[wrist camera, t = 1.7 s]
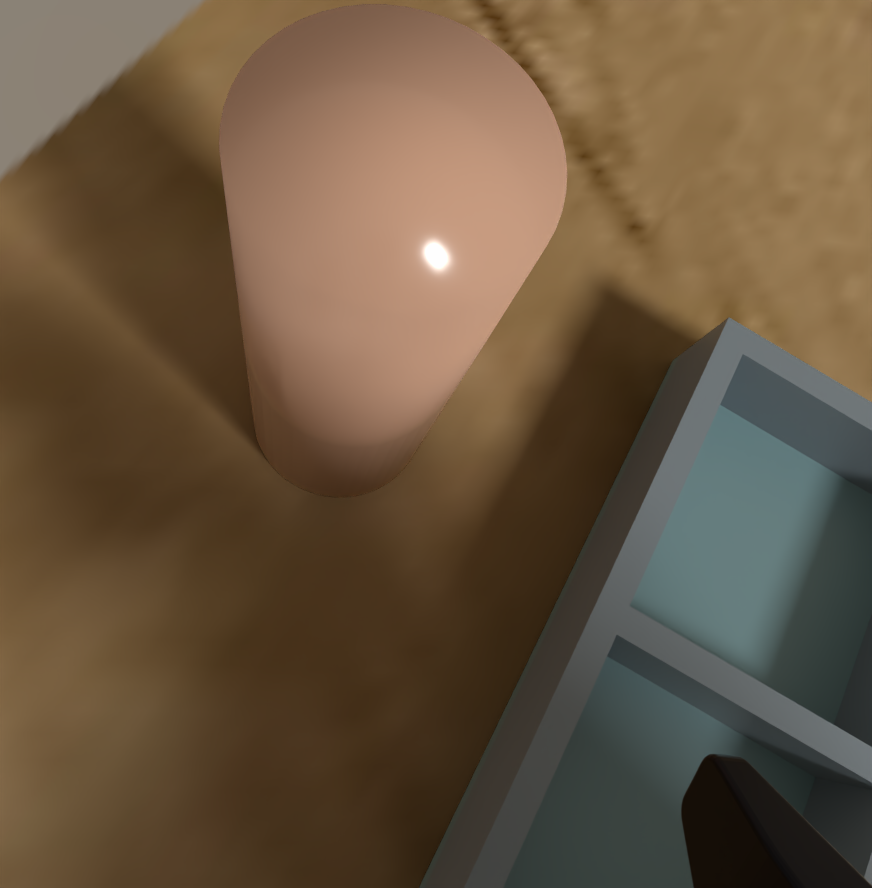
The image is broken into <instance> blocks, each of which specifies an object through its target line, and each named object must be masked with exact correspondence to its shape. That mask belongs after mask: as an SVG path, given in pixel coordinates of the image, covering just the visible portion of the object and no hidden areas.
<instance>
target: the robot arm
mask: <svg viewBox="0 0 872 888" xmlns="http://www.w3.org/2000/svg"><path fill="white" fill-rule="evenodd" d="M681 818H682V825H683V831H684V836H685V842H686V848H687V853H688V859H689V865H690V870H691V876H692V882H693V887H694V888H872V885H871V884H870V883H869V882H868V881H867V880H866V879H865V878H864V877H863V876H862V875H861V874H860V873H859V872H858V871H857V870H856V869H855V868H854V867H853V866H852V865H851V864H850V863H849V862H848V861H847V860H846V859H845V858H844V857H843V856H842V855H841V854H840V853H839V852H838V851H837V850H836V849H835V848H834V847H833V846H832V845H831V844H830V843H829V842H828V841H827V840H826V839H825V838H824V837H823V836H822V835H821V834H820V833H819V832H818V831H817V830H816V829H815V828H814V827H813V826H812V825H811V824H810V823H809V822H808V821H807V820H806V819H805V818H804V817H803V816H802V815H801V814H800V813H799V812H798V811H797V810H796V809H795V808H794V807H793V806H792V805H791V804H790V803H789V802H788V801H787V800H786V799H785V798H784V797H783V796H782V795H781V794H780V793H779V792H778V791H777V790H776V789H775V788H774V787H773V786H772V785H771V784H770V783H769V782H768V781H767V780H766V779H765V778H764V777H763V776H762V775H761V774H760V773H759V772H758V771H757V770H756V769H755V768H754V767H753V766H752V765H751V764H750V763H749V762H748V761H746V760H745V759H743V758H742V757H739V756H734V755H723V754H709V755H708V756H706V757H705V758H704V759H703V760H702V762H701V764H700V766H699V768H698V770H697V772H696V773H695V775H694V777H693V779H692V781H691V783H690V785H689V787H688V789H687V791H686V793H685V794H684V797H683V800H682V805H681Z"/></svg>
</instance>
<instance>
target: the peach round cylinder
mask: <svg viewBox="0 0 872 888" xmlns="http://www.w3.org/2000/svg"><path fill="white" fill-rule="evenodd" d="M219 151H220V159H221V168H222V176H223V184H224V192H225V200H226V208H227V216H228V224H229V232H230V240H231V248H232V256H233V264H234V272H235V280H236V288H237V296H238V304H239V312H240V320H241V328H242V336H243V344H244V352H245V360H246V368H247V376H248V384H249V392H250V400H251V408H252V415H253V423H254V430H255V434H256V438H257V441H258V443H259V445H260V448H261V450H262V452H263V453H264V455H265V457H266V459H267V460H268V461H269V463H270V464H271V465H272V466H273V468H274V469H275V470H276V471H277V472H278V473H279V474H280V475H281V476H283V477H284V478H285V479H287V480H288V481H289V482H291V483H292V484H294V485H296V486H298V487H299V488H301V489H304V490H306V491H309V492H311V493H314V494H318V495H322V496H329V497H351V496H358V495H362V494H366V493H369V492H371V491H374V490H376V489H379V488H380V487H382V486H384V485H385V484H387V483H389V482H390V481H391V480H393V479H394V478H395V477H397V476H398V475H399V474H400V473H401V472H402V471H403V470H404V468H405V467H406V466H407V464H408V463H409V462H410V460H411V459H412V457H413V456H414V454H415V453H416V451H417V449H418V448H419V446H420V445H421V443H422V442H423V440H424V438H425V437H426V435H427V434H428V432H429V431H430V429H431V427H432V426H433V424H434V423H435V421H436V419H437V418H438V416H439V415H440V413H441V412H442V410H443V408H444V407H445V405H446V404H447V402H448V401H449V399H450V397H451V396H452V394H453V393H454V391H455V390H456V388H457V386H458V385H459V383H460V382H461V380H462V379H463V377H464V375H465V374H466V372H467V371H468V369H469V367H470V366H471V364H472V363H473V361H474V360H475V358H476V356H477V355H478V353H479V352H480V350H481V349H482V347H483V345H484V344H485V342H486V341H487V339H488V338H489V336H490V334H491V333H492V331H493V330H494V328H495V327H496V325H497V323H498V322H499V320H500V319H501V317H502V315H503V314H504V312H505V311H506V309H507V308H508V306H509V304H510V303H511V301H512V300H513V298H514V297H515V295H516V293H517V292H518V290H519V289H520V287H521V286H522V284H523V282H524V281H525V279H526V278H527V276H528V274H529V273H530V271H531V270H532V268H533V267H534V265H535V263H536V262H537V260H538V259H539V257H540V256H541V254H542V252H543V251H544V249H545V248H546V246H547V244H548V242H549V241H550V239H551V237H552V235H553V233H554V232H555V230H556V227H557V224H558V222H559V219H560V216H561V213H562V210H563V205H564V200H565V196H566V185H567V166H566V154H565V150H564V145H563V141H562V137H561V133H560V131H559V128H558V125H557V122H556V120H555V117H554V115H553V113H552V111H551V109H550V107H549V105H548V103H547V101H546V99H545V98H544V96H543V95H542V93H541V92H540V90H539V89H538V87H537V86H536V85H535V83H534V82H533V80H532V79H531V78H530V77H529V76H528V75H527V73H526V72H525V71H524V70H523V69H522V68H521V67H520V65H519V64H517V63H516V62H515V61H514V60H513V59H512V58H511V57H510V56H509V55H508V54H507V53H506V52H504V51H503V50H502V49H501V48H499V47H498V46H496V45H495V44H494V43H492V42H491V41H490V40H488V39H487V38H485V37H484V36H482V35H480V34H479V33H477V32H475V31H473V30H472V29H470V28H468V27H466V26H464V25H462V24H460V23H457V22H455V21H453V20H451V19H449V18H446V17H443V16H440V15H437V14H434V13H431V12H428V11H423V10H419V9H414V8H409V7H403V6H394V5H385V4H363V5H354V6H345V7H339V8H335V9H331V10H327V11H322V12H319V13H317V14H314V15H311V16H308V17H306V18H303V19H301V20H299V21H297V22H295V23H293V24H291V25H289V26H288V27H286V28H284V29H282V30H281V31H280V32H278V33H277V34H275V35H274V36H273V37H271V38H270V39H268V40H267V41H266V42H265V43H264V44H263V45H262V46H261V47H260V48H259V49H258V50H257V51H255V52H254V53H253V54H252V56H251V57H250V58H249V60H248V61H247V62H246V63H245V65H244V66H243V67H242V69H241V70H240V72H239V73H238V75H237V77H236V79H235V81H234V82H233V84H232V86H231V88H230V91H229V93H228V96H227V99H226V102H225V104H224V108H223V113H222V118H221V123H220V136H219Z"/></svg>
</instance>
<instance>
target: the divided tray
mask: <svg viewBox="0 0 872 888" xmlns="http://www.w3.org/2000/svg"><path fill="white" fill-rule="evenodd" d="M709 754H723V755H734V756H739V757H742V758H743V759H745V760H746V761H748V762H749V763H750V764H751V765H752V766H753V767H754V768H755V769H756V770H757V771H758V772H759V773H760V774H761V775H762V776H763V777H764V778H765V779H766V780H767V781H768V782H769V783H770V784H771V785H772V786H773V787H774V788H775V789H776V790H777V791H778V792H779V793H780V794H781V795H782V796H783V797H784V798H785V799H786V800H787V801H788V802H789V803H790V804H791V805H792V806H793V807H794V808H795V809H796V810H797V811H798V812H799V813H800V814H801V815H802V816H803V817H804V818H805V819H806V820H807V821H808V822H809V823H810V824H811V825H812V826H813V827H814V828H815V829H816V830H817V831H818V832H819V833H820V834H821V835H822V836H823V837H824V838H825V839H826V840H827V841H828V842H829V843H830V844H831V845H832V846H833V847H834V848H835V849H836V850H837V851H838V852H839V853H840V854H841V855H842V856H843V857H844V858H845V859H846V860H847V861H848V862H849V863H850V864H851V865H852V866H853V867H854V868H855V869H856V870H857V871H858V872H859V873H860V874H861V875H862V876H863V877H864V878H865V879H866V880H867V881H868V882H869V883H870V884H871V885H872V402H870V401H868V400H867V399H865V398H863V397H862V396H860V395H858V394H857V393H855V392H853V391H851V390H850V389H848V388H846V387H845V386H843V385H841V384H840V383H838V382H836V381H835V380H833V379H831V378H830V377H828V376H826V375H825V374H823V373H821V372H820V371H818V370H816V369H815V368H813V367H811V366H810V365H808V364H806V363H805V362H803V361H801V360H800V359H798V358H796V357H795V356H793V355H791V354H789V353H788V352H786V351H784V350H783V349H781V348H779V347H778V346H776V345H774V344H773V343H771V342H769V341H768V340H766V339H764V338H763V337H761V336H759V335H758V334H756V333H754V332H753V331H751V330H749V329H748V328H746V327H744V326H743V325H741V324H739V323H738V322H736V321H734V320H732V319H731V318H727V319H726V320H725V321H723V322H722V323H721V324H720V325H718V326H717V327H716V328H714V329H713V330H712V331H711V332H709V333H708V334H707V335H705V336H704V337H703V338H701V339H700V340H699V341H698V342H696V343H695V344H694V345H692V346H691V347H690V348H688V349H687V350H686V351H685V352H683V353H682V354H681V355H679V356H678V357H677V358H676V359H674V360H673V361H672V363H671V365H670V367H669V369H668V371H667V374H666V376H665V378H664V380H663V382H662V384H661V386H660V388H659V390H658V392H657V394H656V396H655V398H654V401H653V403H652V405H651V407H650V409H649V411H648V413H647V415H646V417H645V419H644V421H643V423H642V425H641V428H640V430H639V432H638V434H637V436H636V438H635V440H634V442H633V444H632V446H631V448H630V450H629V452H628V455H627V457H626V459H625V461H624V463H623V465H622V467H621V469H620V471H619V473H618V475H617V477H616V479H615V482H614V484H613V486H612V488H611V490H610V492H609V494H608V496H607V498H606V500H605V502H604V504H603V506H602V509H601V511H600V513H599V515H598V517H597V519H596V521H595V523H594V525H593V527H592V529H591V531H590V533H589V536H588V538H587V540H586V542H585V544H584V546H583V548H582V550H581V552H580V554H579V556H578V558H577V560H576V563H575V565H574V567H573V569H572V571H571V573H570V575H569V577H568V579H567V581H566V583H565V585H564V587H563V590H562V592H561V594H560V596H559V598H558V600H557V602H556V604H555V606H554V608H553V610H552V612H551V614H550V617H549V619H548V621H547V623H546V625H545V627H544V629H543V631H542V633H541V635H540V637H539V639H538V641H537V644H536V646H535V648H534V650H533V652H532V654H531V656H530V658H529V660H528V662H527V664H526V666H525V668H524V671H523V673H522V675H521V677H520V679H519V681H518V683H517V685H516V687H515V689H514V691H513V693H512V695H511V698H510V700H509V702H508V704H507V706H506V708H505V710H504V712H503V714H502V716H501V718H500V720H499V722H498V725H497V727H496V729H495V731H494V733H493V735H492V737H491V739H490V741H489V743H488V745H487V747H486V749H485V752H484V754H483V756H482V758H481V760H480V762H479V764H478V766H477V768H476V770H475V772H474V774H473V776H472V779H471V781H470V783H469V785H468V787H467V789H466V791H465V793H464V795H463V797H462V799H461V801H460V803H459V805H458V808H457V810H456V812H455V814H454V816H453V818H452V820H451V822H450V824H449V826H448V828H447V830H446V832H445V835H444V837H443V839H442V841H441V843H440V845H439V847H438V849H437V851H436V853H435V855H434V857H433V859H432V862H431V864H430V866H429V868H428V870H427V872H426V874H425V876H424V878H423V880H422V882H421V884H420V886H419V888H694V887H693V882H692V876H691V870H690V865H689V859H688V853H687V848H686V842H685V836H684V831H683V825H682V818H681V805H682V800H683V797H684V794H685V793H686V791H687V789H688V787H689V785H690V783H691V781H692V779H693V777H694V775H695V773H696V772H697V770H698V768H699V766H700V764H701V762H702V760H703V759H704V758H705V757H706V756H708V755H709Z"/></svg>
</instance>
